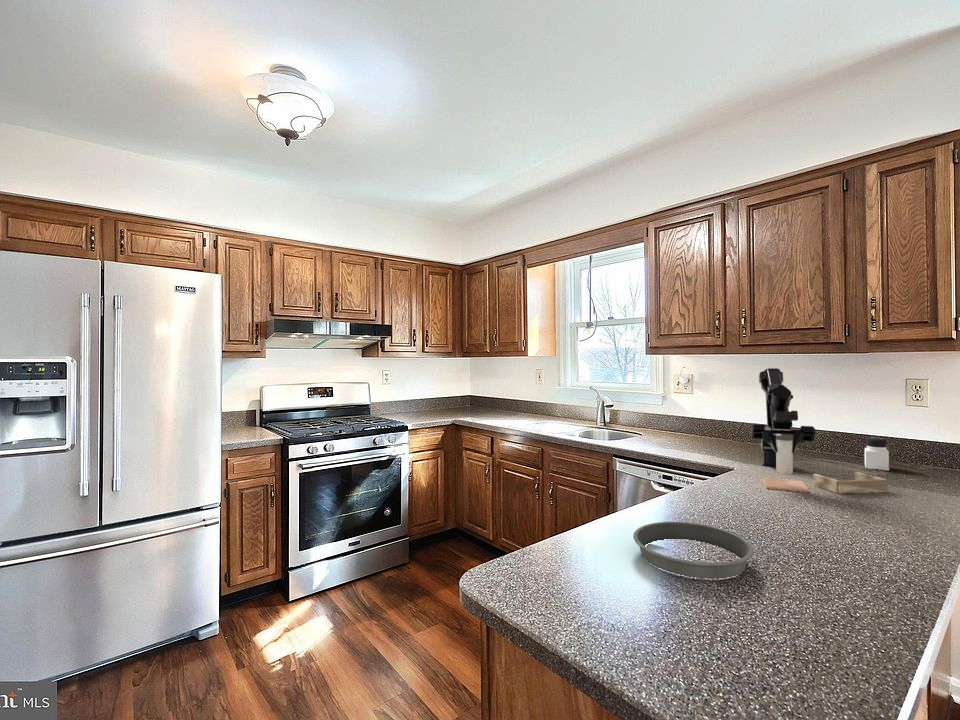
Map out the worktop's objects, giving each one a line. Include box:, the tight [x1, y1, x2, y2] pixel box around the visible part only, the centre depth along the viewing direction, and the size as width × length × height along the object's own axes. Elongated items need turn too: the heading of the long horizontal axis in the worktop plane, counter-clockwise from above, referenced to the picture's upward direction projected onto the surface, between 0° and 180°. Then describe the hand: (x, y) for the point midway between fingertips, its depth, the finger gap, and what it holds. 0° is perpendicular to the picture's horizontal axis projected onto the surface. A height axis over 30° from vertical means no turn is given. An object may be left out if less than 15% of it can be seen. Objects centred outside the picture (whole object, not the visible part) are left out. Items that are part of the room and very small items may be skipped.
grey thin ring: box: [632, 521, 754, 579], centre depth 105 cm, size 25×25×4 cm
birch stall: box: [812, 471, 889, 495], centre depth 157 cm, size 11×17×4 cm, turn 96°
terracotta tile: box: [762, 477, 810, 493], centre depth 162 cm, size 12×12×1 cm
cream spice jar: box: [775, 433, 794, 474], centre depth 162 cm, size 5×5×13 cm
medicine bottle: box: [864, 436, 891, 472], centre depth 185 cm, size 7×7×12 cm
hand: (784, 452), depth 160 cm, fingers closed on cream spice jar, 5 cm apart
